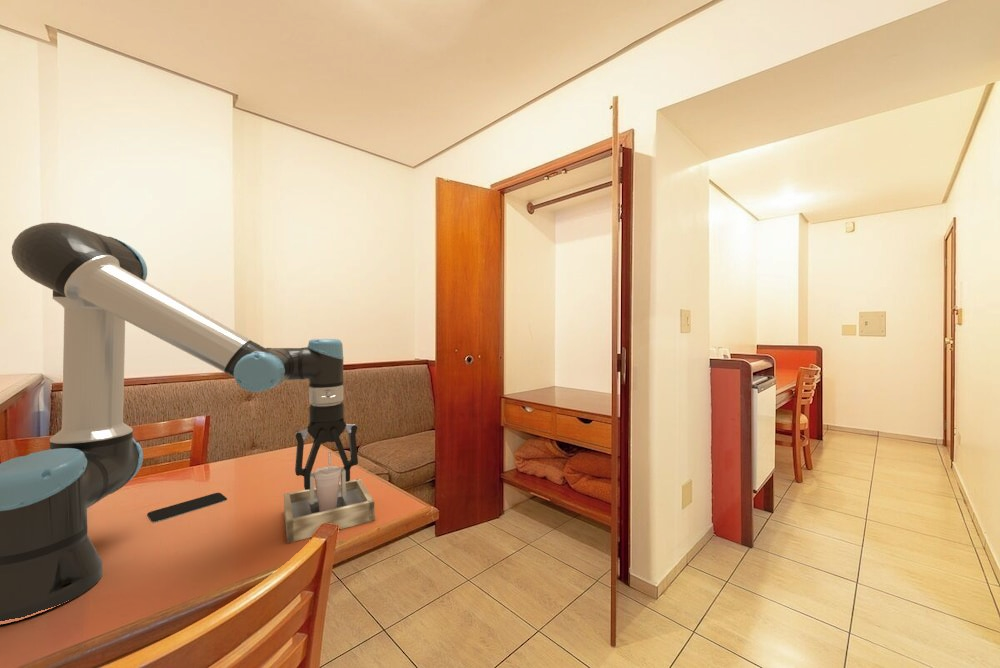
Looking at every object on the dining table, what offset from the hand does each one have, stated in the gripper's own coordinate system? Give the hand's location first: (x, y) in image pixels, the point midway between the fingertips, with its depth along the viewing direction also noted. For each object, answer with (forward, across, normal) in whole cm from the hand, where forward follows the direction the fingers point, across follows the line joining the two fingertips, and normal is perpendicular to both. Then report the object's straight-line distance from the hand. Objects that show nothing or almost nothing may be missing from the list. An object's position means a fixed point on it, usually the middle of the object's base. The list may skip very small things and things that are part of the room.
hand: (327, 498), depth 92 cm
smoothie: (+3, 0, 0) cm, 3 cm away
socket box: (+4, 0, 0) cm, 4 cm away
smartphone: (+5, -30, +24) cm, 39 cm away
